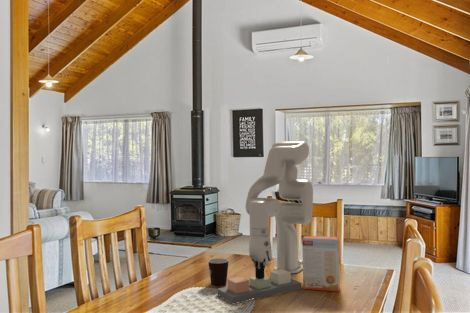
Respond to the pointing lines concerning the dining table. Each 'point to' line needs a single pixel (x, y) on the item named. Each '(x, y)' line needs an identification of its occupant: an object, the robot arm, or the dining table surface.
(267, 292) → the button panel
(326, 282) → the cracker box
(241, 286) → the terracotta button
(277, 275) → the cream button
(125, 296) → the dining table surface
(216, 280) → the coffee mug
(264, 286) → the sage button
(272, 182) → the robot arm
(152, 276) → the dining table surface
